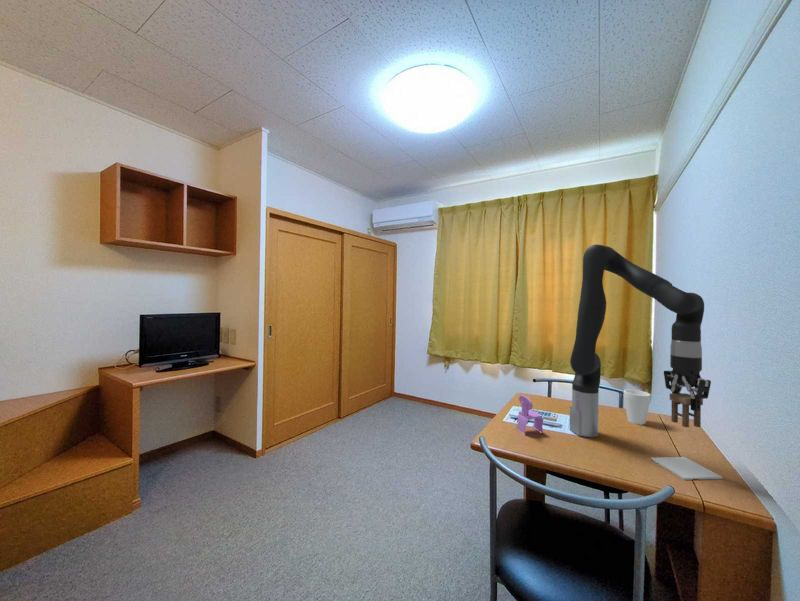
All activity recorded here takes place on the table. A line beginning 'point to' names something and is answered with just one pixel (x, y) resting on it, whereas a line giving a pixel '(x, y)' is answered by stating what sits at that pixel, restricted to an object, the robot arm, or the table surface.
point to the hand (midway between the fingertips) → (685, 406)
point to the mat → (686, 468)
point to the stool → (684, 409)
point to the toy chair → (528, 415)
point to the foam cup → (637, 405)
